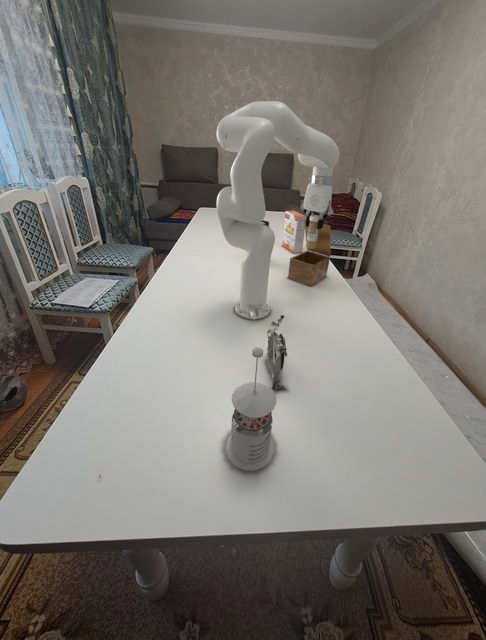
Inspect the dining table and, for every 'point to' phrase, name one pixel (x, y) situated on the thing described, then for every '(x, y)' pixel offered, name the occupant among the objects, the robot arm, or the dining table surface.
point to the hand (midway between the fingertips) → (313, 227)
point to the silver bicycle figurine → (276, 353)
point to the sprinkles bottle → (312, 232)
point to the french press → (252, 424)
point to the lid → (321, 240)
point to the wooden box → (308, 268)
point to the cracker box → (294, 231)
